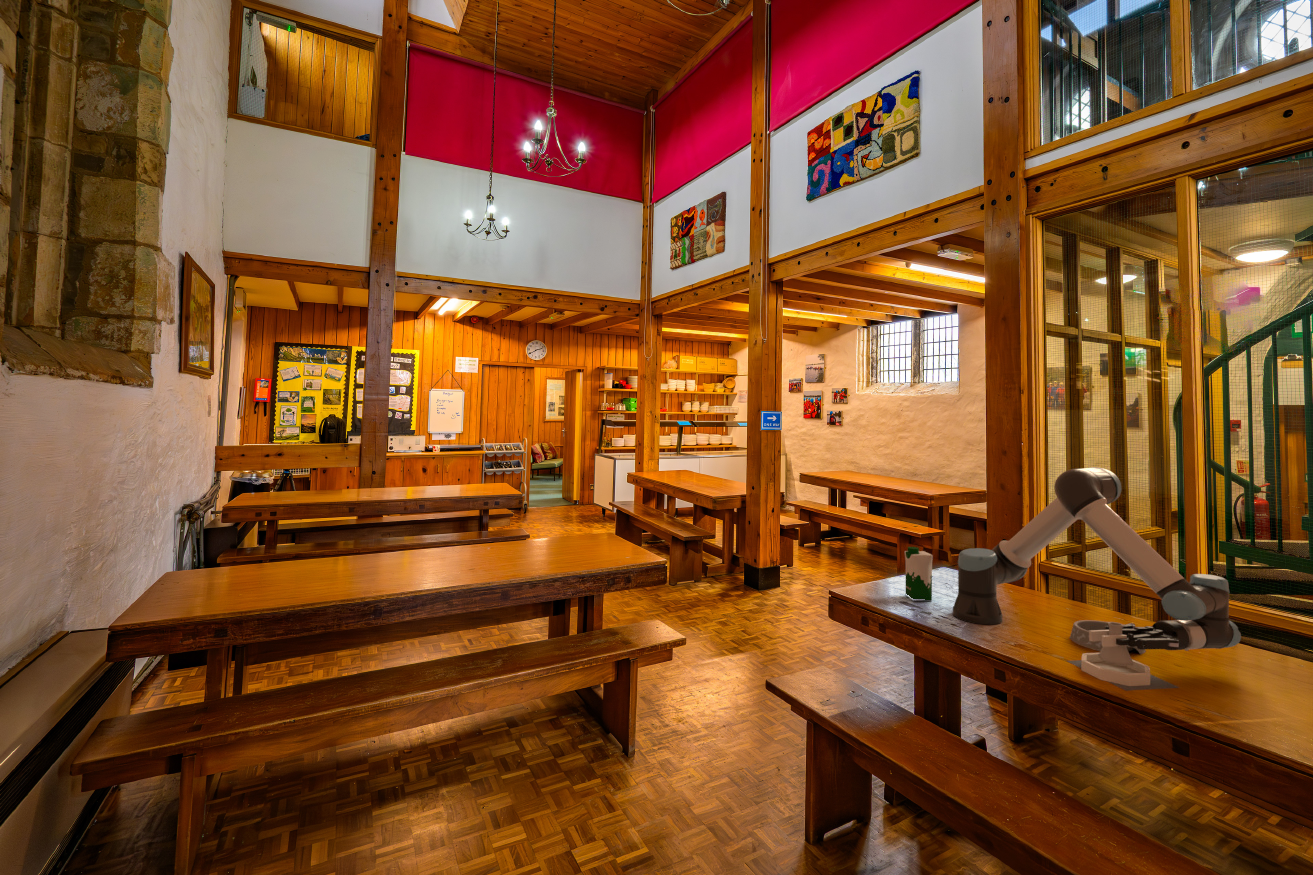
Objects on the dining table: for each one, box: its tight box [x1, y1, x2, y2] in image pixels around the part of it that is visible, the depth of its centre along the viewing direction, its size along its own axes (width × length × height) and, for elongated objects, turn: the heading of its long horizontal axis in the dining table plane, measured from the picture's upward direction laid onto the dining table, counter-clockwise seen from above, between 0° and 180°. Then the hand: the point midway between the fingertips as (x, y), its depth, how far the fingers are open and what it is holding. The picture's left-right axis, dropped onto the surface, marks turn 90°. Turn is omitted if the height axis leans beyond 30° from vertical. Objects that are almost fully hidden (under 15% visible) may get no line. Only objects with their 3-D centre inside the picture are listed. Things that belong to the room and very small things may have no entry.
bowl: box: [1080, 652, 1151, 686], centre depth 149 cm, size 14×14×3 cm
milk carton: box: [904, 546, 934, 601], centre depth 217 cm, size 9×9×20 cm
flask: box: [1098, 621, 1134, 666], centre depth 149 cm, size 7×7×10 cm
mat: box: [1066, 659, 1180, 692], centre depth 149 cm, size 18×15×1 cm
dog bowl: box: [1069, 619, 1147, 655], centre depth 170 cm, size 17×18×5 cm
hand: (1096, 638), depth 148 cm, fingers closed on flask, 3 cm apart
